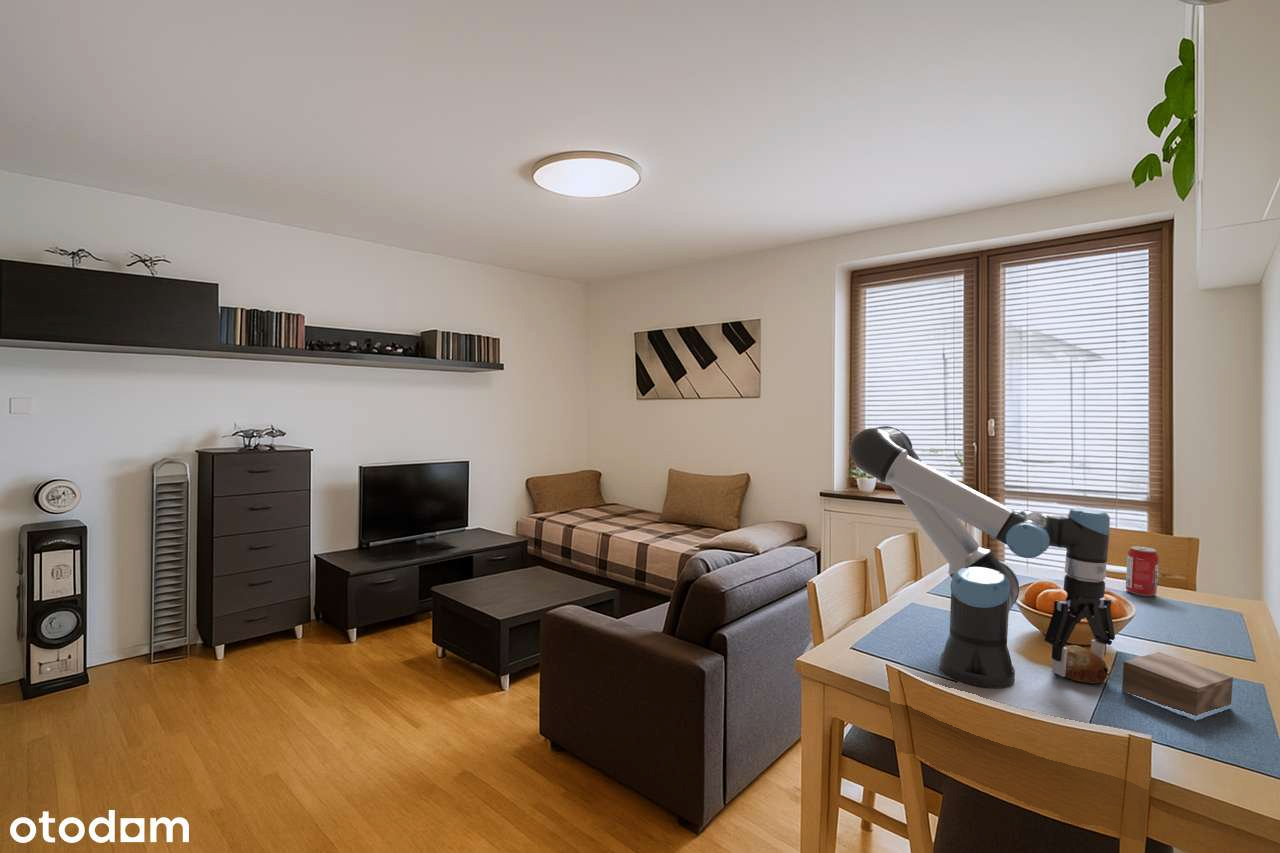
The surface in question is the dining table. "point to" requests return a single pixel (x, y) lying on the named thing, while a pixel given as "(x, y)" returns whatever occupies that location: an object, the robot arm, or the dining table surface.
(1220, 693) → the walnut box
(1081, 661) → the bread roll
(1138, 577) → the soda can
